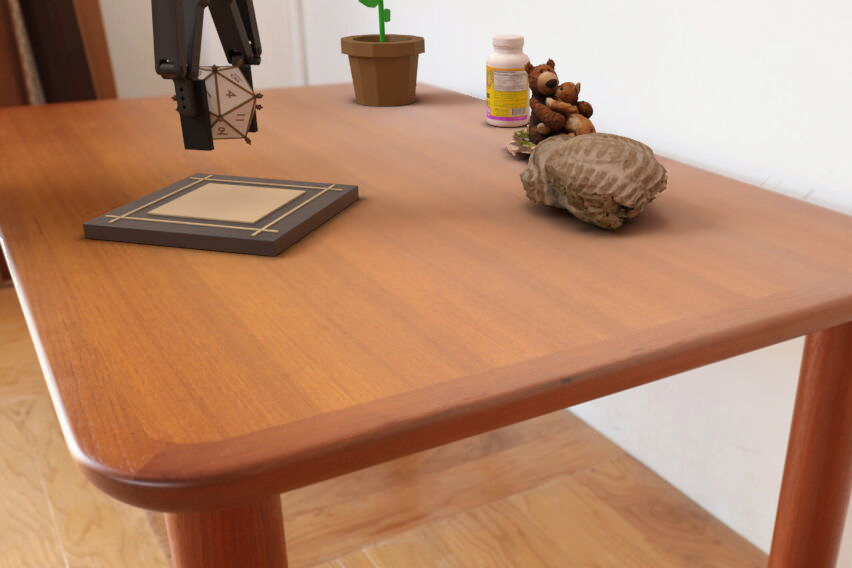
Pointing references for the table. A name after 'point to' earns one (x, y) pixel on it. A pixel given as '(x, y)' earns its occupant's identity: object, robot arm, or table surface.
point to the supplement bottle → (507, 83)
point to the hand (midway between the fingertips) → (222, 139)
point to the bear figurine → (551, 110)
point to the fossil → (594, 177)
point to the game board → (225, 214)
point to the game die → (229, 101)
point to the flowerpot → (383, 63)
